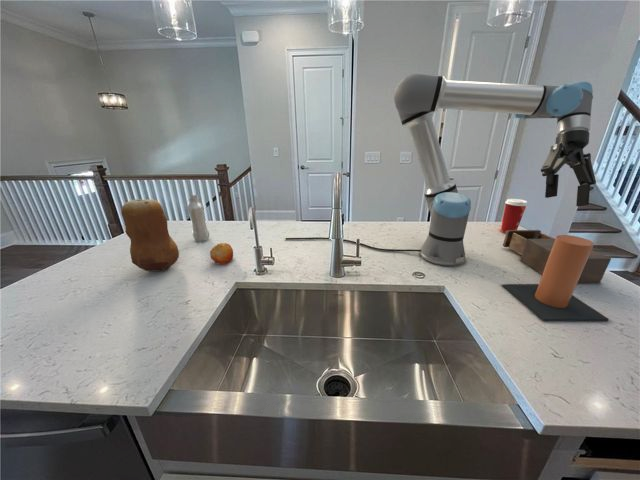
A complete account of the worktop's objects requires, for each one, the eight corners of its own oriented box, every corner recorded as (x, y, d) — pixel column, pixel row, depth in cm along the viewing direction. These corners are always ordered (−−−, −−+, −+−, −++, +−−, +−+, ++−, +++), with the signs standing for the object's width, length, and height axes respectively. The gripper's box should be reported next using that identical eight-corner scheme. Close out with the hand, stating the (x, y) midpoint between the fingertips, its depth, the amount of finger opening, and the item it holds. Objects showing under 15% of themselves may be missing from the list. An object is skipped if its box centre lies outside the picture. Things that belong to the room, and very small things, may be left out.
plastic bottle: (213, 239, 117) (205, 195, 109) (199, 244, 112) (190, 198, 104) (204, 236, 120) (196, 193, 112) (191, 241, 115) (181, 196, 107)
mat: (543, 321, 65) (543, 319, 64) (502, 285, 79) (502, 284, 79) (607, 320, 64) (608, 319, 64) (554, 285, 79) (555, 284, 79)
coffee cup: (522, 235, 117) (532, 203, 111) (502, 234, 118) (511, 202, 113) (513, 229, 124) (522, 198, 119) (494, 228, 126) (502, 197, 120)
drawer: (496, 241, 108) (500, 226, 106) (525, 241, 108) (530, 226, 106) (528, 262, 91) (534, 244, 89) (564, 262, 91) (571, 244, 88)
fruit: (242, 253, 99) (232, 241, 93) (231, 271, 95) (219, 259, 89) (226, 250, 102) (215, 237, 96) (214, 266, 98) (202, 255, 92)
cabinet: (519, 260, 95) (526, 238, 91) (557, 260, 94) (565, 238, 91) (555, 283, 80) (565, 258, 77) (599, 283, 80) (611, 258, 77)
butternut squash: (174, 256, 101) (158, 192, 91) (186, 268, 92) (170, 199, 82) (132, 269, 92) (109, 199, 82) (141, 283, 83) (117, 207, 73)
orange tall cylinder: (536, 302, 70) (559, 242, 64) (533, 290, 76) (553, 233, 69) (570, 310, 67) (598, 247, 60) (564, 297, 73) (589, 237, 66)
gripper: (584, 149, 87) (580, 210, 86) (529, 129, 81) (523, 195, 79) (615, 140, 80) (610, 207, 79) (557, 117, 74) (551, 190, 72)
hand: (566, 201), depth 79 cm, fingers open, 13 cm apart
